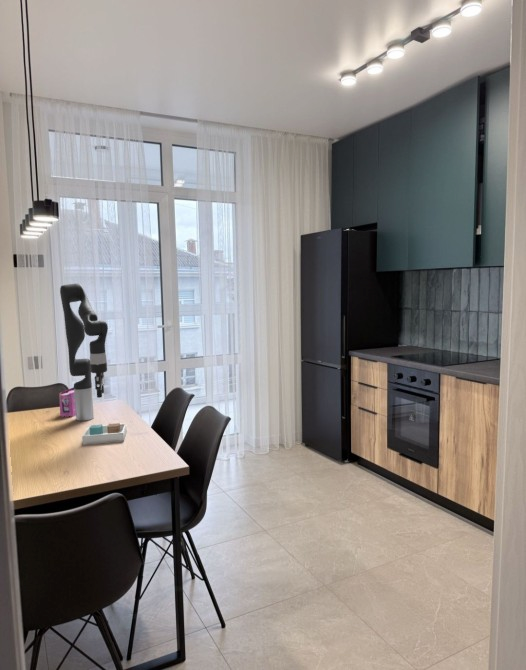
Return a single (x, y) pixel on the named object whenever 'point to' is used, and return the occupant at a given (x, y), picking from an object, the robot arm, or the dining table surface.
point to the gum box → (67, 403)
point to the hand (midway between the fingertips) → (100, 395)
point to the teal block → (96, 429)
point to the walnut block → (113, 428)
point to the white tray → (104, 436)
